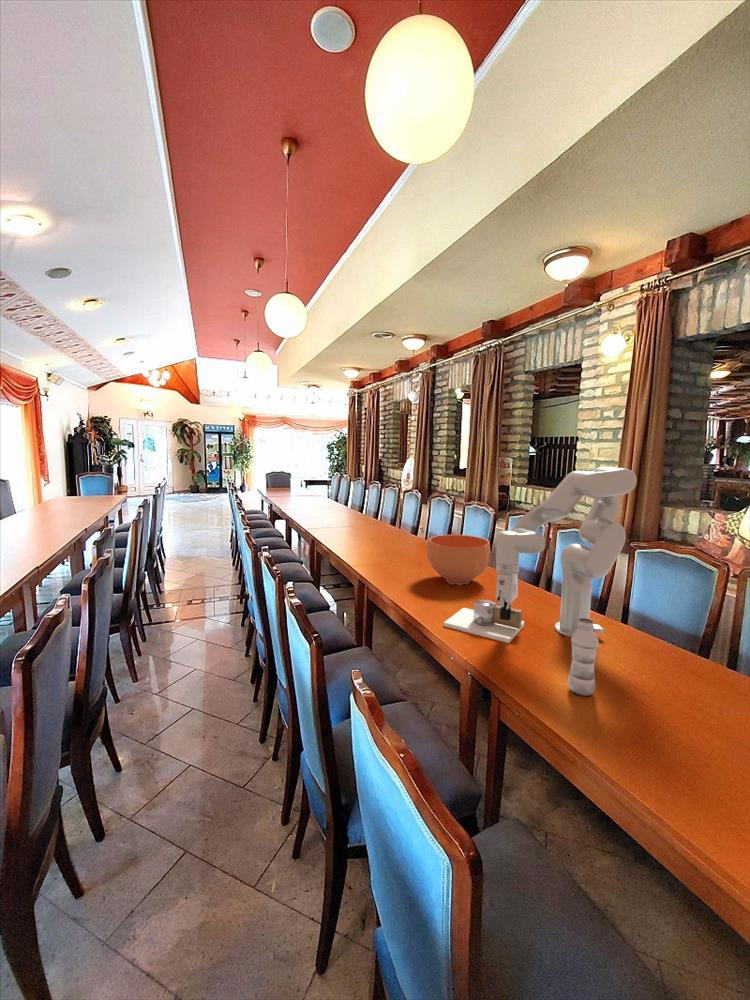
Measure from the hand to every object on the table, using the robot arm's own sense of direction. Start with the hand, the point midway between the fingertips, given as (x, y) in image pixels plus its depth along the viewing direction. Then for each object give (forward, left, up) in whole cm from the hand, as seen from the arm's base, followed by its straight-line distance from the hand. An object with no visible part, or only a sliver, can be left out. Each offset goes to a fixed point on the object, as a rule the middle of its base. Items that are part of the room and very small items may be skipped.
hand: (505, 619), depth 148 cm
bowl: (+39, -49, -7) cm, 63 cm away
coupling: (+5, -5, -5) cm, 8 cm away
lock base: (+9, -5, -7) cm, 12 cm away
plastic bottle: (-28, +22, -7) cm, 36 cm away
